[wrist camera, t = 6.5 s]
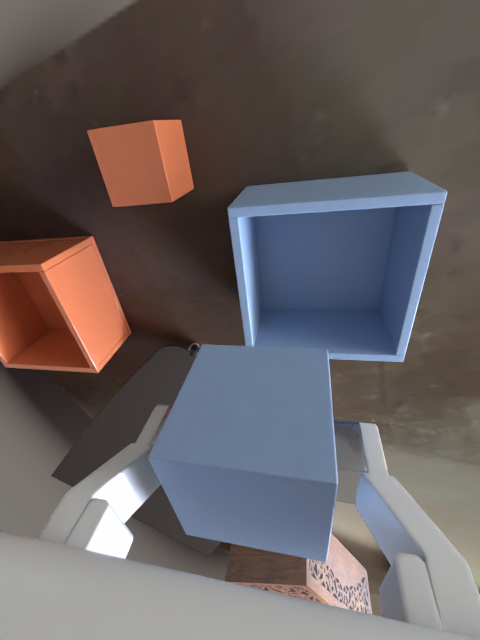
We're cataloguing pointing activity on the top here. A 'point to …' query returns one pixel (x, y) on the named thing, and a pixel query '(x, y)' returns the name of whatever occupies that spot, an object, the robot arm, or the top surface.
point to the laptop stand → (137, 435)
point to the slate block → (253, 449)
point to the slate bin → (334, 262)
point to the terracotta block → (143, 162)
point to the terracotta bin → (57, 306)
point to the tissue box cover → (303, 575)
